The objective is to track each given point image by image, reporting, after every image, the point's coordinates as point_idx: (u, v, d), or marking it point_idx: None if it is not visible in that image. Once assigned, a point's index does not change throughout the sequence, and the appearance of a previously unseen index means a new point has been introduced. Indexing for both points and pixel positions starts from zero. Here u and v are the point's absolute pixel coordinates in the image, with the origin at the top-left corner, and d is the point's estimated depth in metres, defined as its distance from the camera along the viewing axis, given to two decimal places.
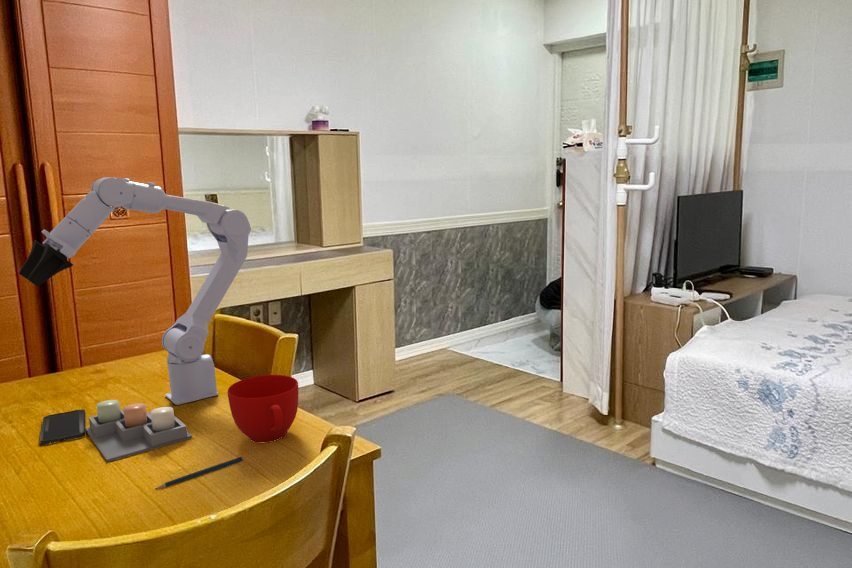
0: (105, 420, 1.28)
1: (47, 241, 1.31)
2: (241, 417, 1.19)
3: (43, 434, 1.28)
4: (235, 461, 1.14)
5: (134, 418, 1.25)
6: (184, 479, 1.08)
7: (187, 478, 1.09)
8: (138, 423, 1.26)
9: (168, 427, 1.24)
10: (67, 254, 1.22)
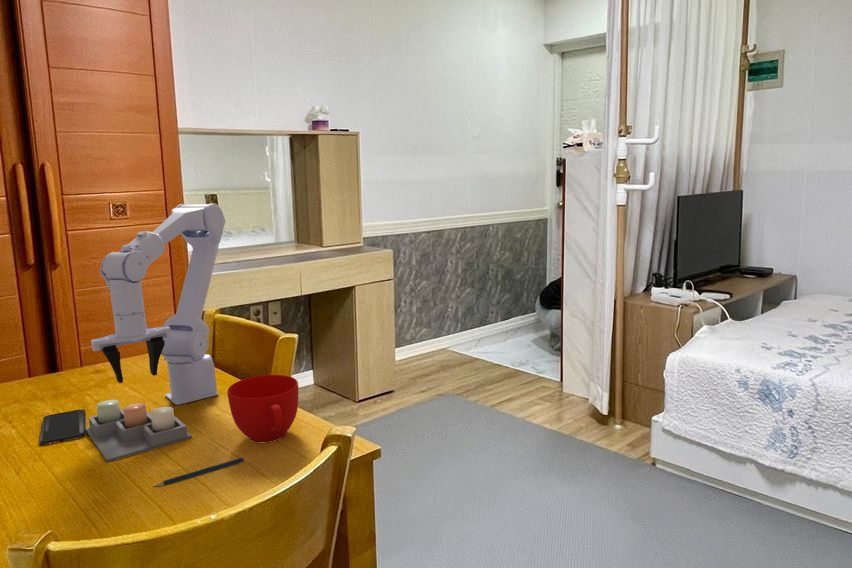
0: (105, 420, 1.28)
1: (100, 346, 1.26)
2: (241, 417, 1.19)
3: (43, 434, 1.28)
4: (235, 462, 1.14)
5: (134, 418, 1.25)
6: (183, 478, 1.09)
7: (186, 477, 1.09)
8: (138, 423, 1.26)
9: (168, 427, 1.24)
10: None
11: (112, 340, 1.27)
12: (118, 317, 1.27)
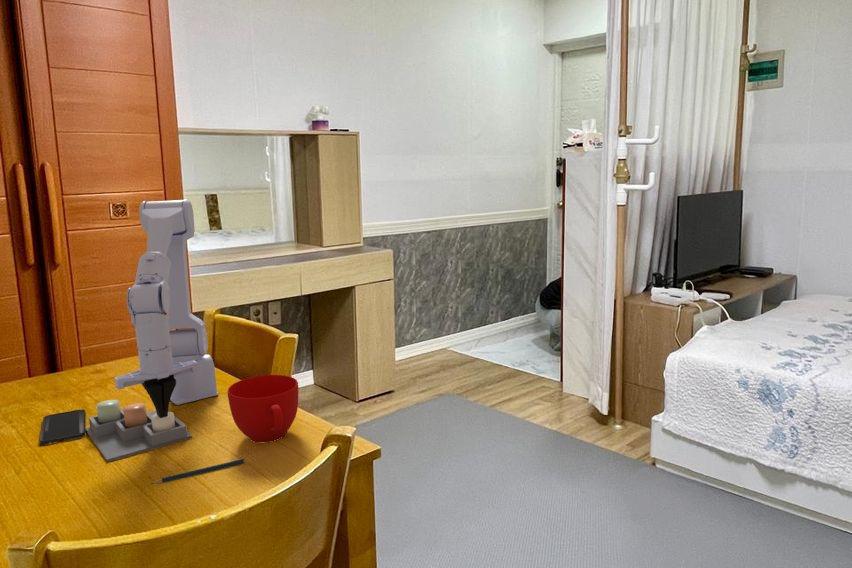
0: (105, 420, 1.28)
1: (124, 383, 1.19)
2: (241, 417, 1.19)
3: (43, 434, 1.28)
4: (236, 463, 1.13)
5: (134, 418, 1.25)
6: (181, 476, 1.09)
7: (184, 475, 1.10)
8: (138, 423, 1.26)
9: None
10: None
11: (137, 377, 1.19)
12: (143, 353, 1.19)
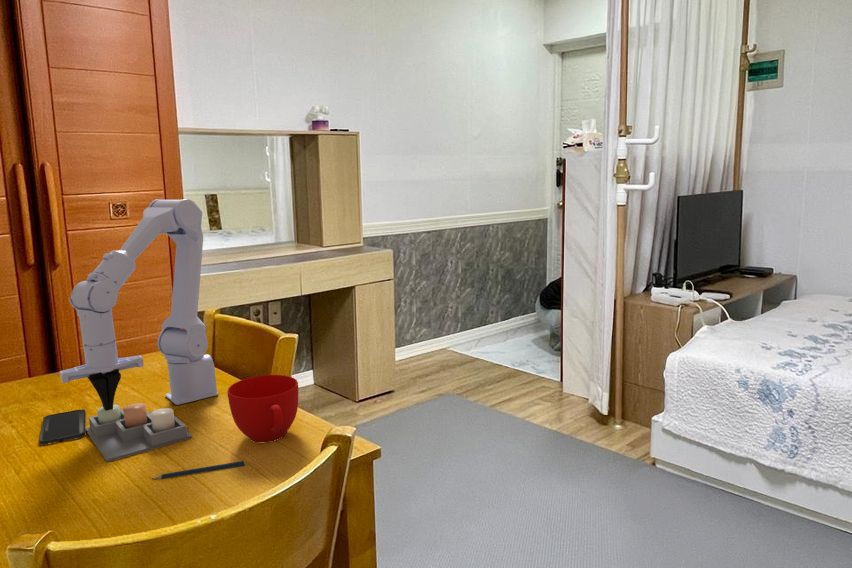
0: None
1: (69, 377, 1.24)
2: (241, 417, 1.19)
3: (43, 434, 1.28)
4: (236, 464, 1.13)
5: (134, 418, 1.25)
6: (181, 474, 1.10)
7: (184, 473, 1.10)
8: (138, 423, 1.26)
9: (168, 428, 1.24)
10: None
11: (81, 371, 1.24)
12: (88, 348, 1.24)
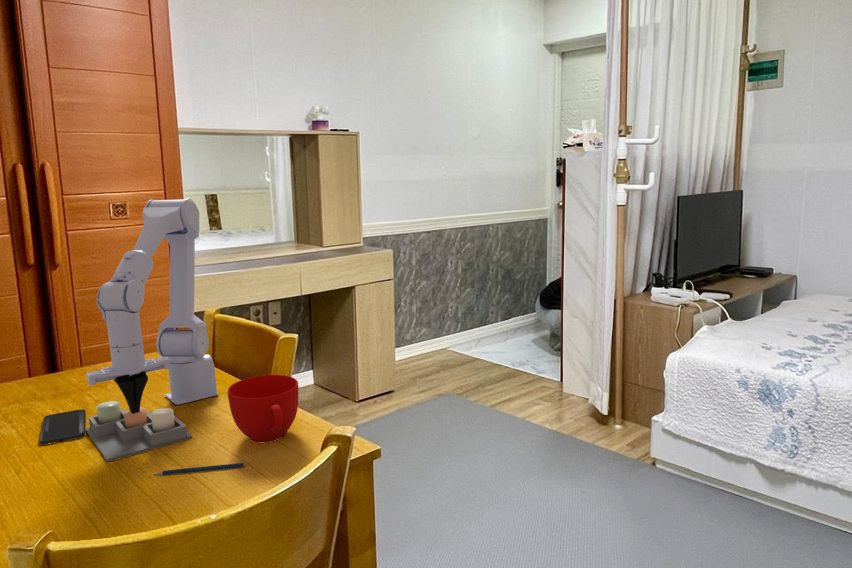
0: (105, 421, 1.28)
1: (95, 379, 1.21)
2: (241, 417, 1.19)
3: (43, 434, 1.28)
4: (235, 466, 1.12)
5: (135, 422, 1.25)
6: (181, 471, 1.11)
7: (184, 471, 1.11)
8: None
9: (168, 428, 1.24)
10: None
11: (108, 373, 1.21)
12: (115, 349, 1.22)
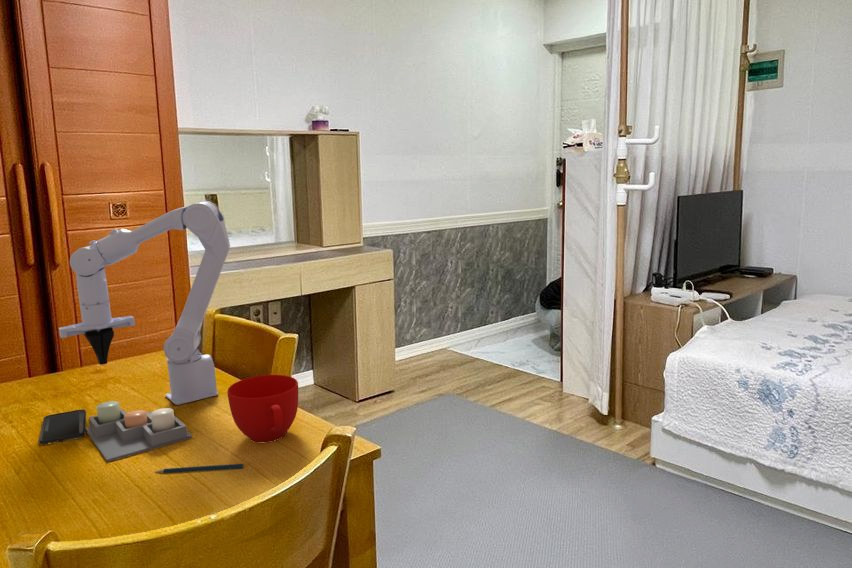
0: (105, 421, 1.28)
1: (67, 333, 1.37)
2: (241, 417, 1.19)
3: (43, 434, 1.28)
4: (235, 466, 1.12)
5: (135, 425, 1.25)
6: (181, 470, 1.11)
7: (184, 470, 1.11)
8: None
9: (168, 428, 1.24)
10: None
11: (78, 328, 1.37)
12: (84, 307, 1.38)
